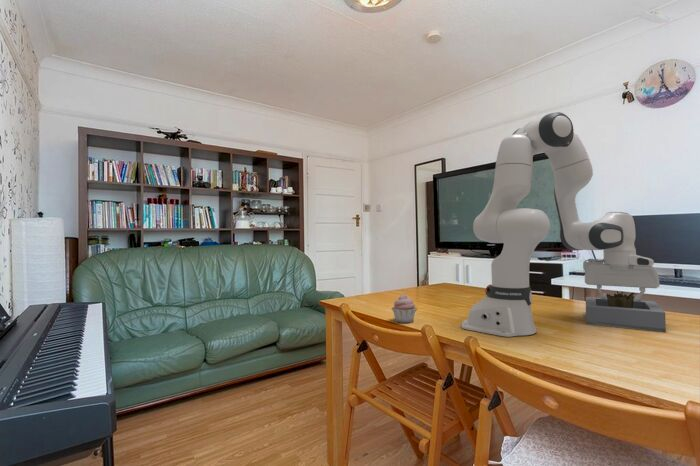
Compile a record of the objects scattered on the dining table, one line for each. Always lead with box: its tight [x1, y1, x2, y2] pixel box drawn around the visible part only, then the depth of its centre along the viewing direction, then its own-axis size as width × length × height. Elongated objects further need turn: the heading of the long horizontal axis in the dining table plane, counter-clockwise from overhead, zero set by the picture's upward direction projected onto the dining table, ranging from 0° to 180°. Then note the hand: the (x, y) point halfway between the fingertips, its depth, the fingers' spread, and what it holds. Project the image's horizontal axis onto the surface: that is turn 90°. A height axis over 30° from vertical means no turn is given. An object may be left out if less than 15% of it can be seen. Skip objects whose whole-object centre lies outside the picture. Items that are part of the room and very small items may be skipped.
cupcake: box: [391, 293, 418, 324], centre depth 127 cm, size 9×9×10 cm
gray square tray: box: [585, 296, 667, 333], centre depth 119 cm, size 20×20×6 cm
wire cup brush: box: [606, 292, 635, 308], centre depth 119 cm, size 8×7×8 cm
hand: (620, 299), depth 119 cm, fingers open, 8 cm apart
